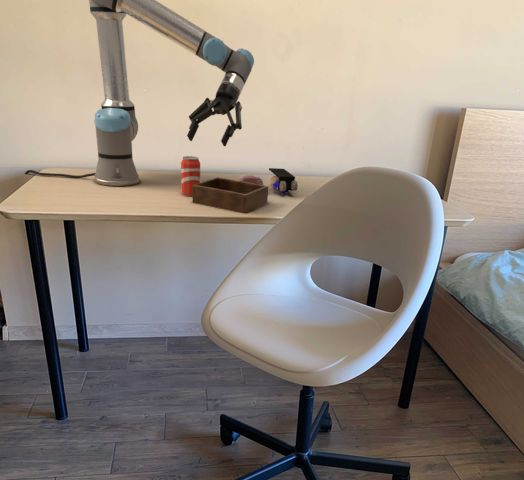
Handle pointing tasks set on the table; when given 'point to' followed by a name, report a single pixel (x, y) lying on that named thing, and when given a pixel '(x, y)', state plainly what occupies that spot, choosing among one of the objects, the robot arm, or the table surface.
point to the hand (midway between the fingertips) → (206, 141)
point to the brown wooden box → (230, 194)
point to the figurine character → (283, 181)
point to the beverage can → (189, 174)
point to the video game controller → (251, 179)
